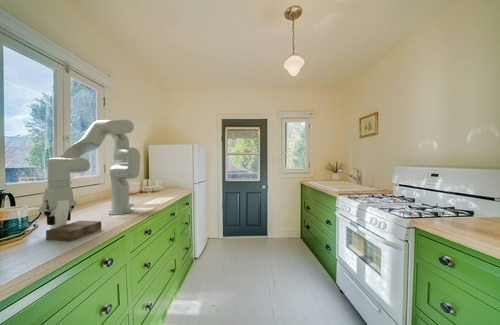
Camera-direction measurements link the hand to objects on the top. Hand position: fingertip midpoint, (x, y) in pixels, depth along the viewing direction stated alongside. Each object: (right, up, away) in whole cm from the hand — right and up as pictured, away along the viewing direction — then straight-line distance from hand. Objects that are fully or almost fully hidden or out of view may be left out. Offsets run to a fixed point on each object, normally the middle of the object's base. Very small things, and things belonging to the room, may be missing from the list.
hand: (59, 222), depth 91 cm
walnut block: (+11, -5, -3) cm, 12 cm away
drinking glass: (0, -5, 0) cm, 5 cm away
